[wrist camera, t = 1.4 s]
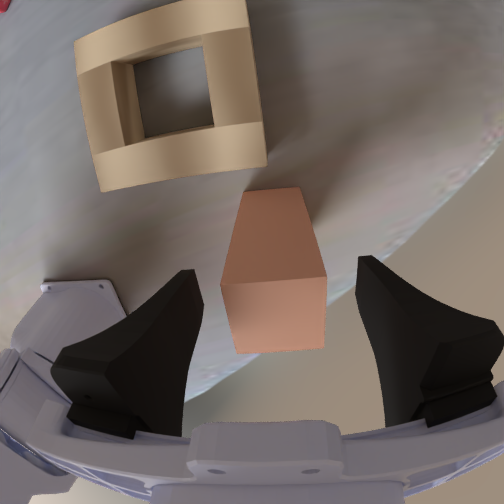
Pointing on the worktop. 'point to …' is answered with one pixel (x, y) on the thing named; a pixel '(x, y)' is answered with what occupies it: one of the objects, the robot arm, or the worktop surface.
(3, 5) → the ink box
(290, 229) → the peg
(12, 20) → the worktop surface
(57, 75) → the worktop surface
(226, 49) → the socket block
